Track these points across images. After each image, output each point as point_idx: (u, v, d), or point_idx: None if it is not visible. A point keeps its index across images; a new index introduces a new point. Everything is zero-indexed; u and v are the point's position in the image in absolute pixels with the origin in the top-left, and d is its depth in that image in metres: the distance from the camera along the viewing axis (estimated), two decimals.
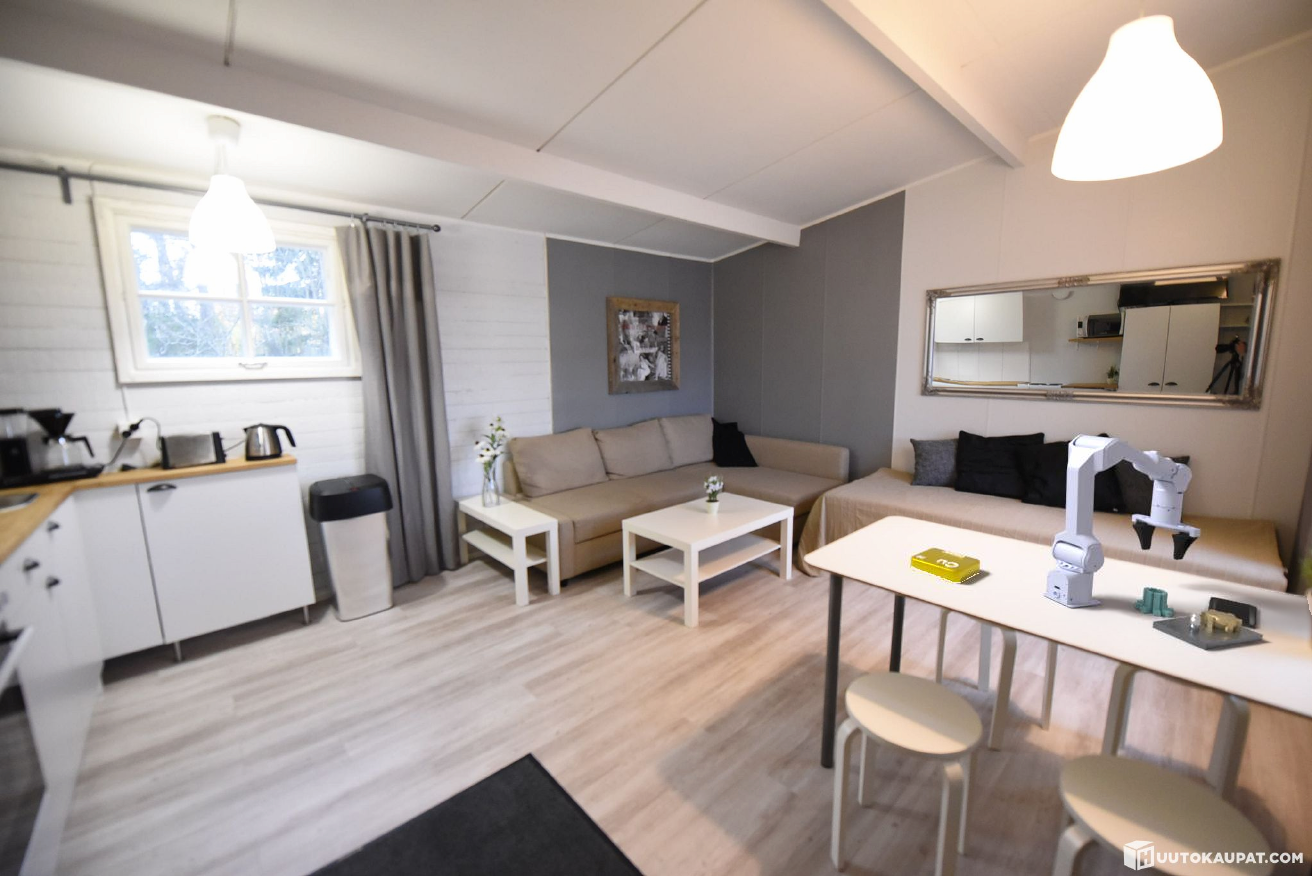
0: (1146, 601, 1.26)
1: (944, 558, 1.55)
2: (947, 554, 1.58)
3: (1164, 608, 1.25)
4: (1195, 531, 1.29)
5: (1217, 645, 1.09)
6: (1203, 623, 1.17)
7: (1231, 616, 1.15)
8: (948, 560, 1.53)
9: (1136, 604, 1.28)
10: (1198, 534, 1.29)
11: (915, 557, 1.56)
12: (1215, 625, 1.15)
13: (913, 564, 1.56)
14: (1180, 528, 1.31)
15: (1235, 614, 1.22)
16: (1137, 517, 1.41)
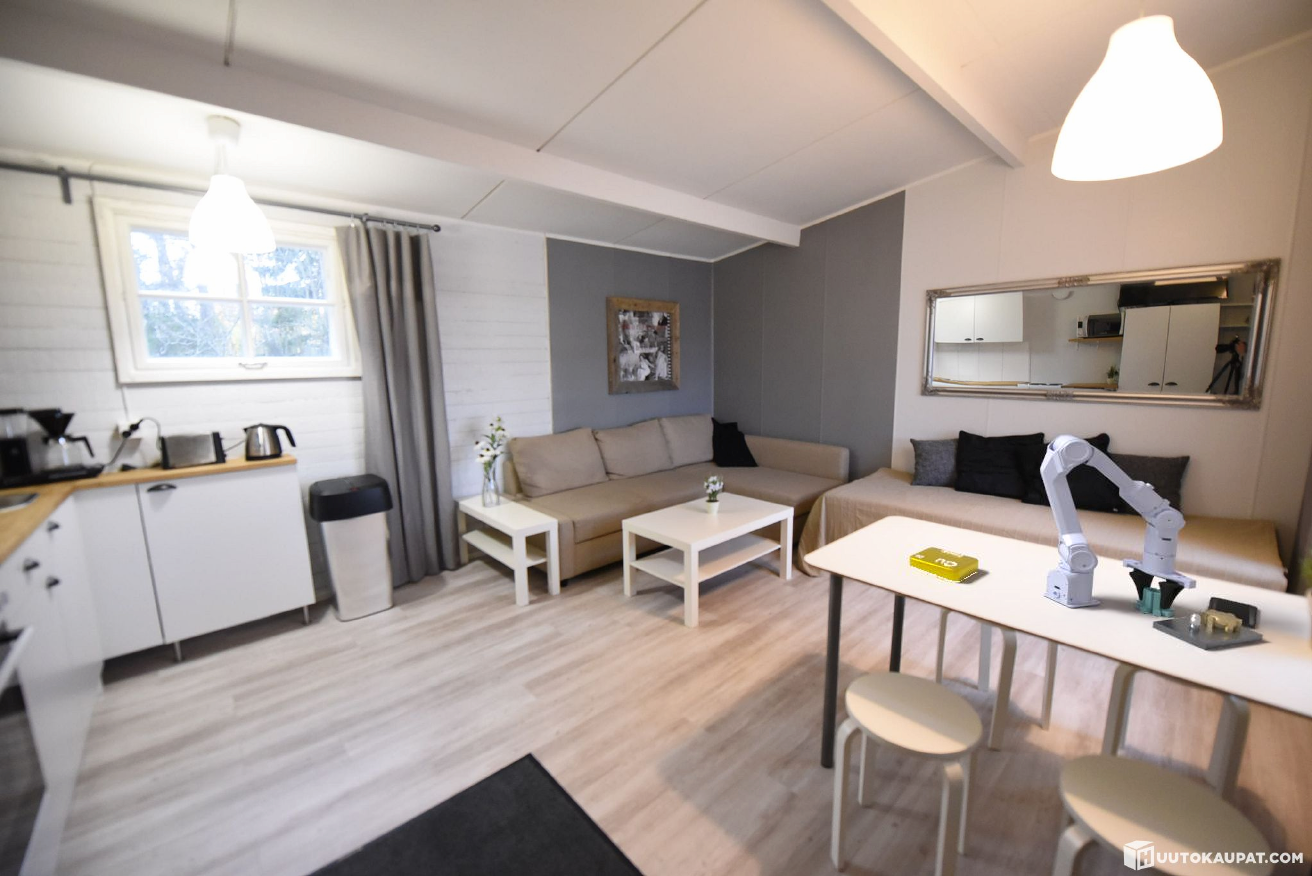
0: (1146, 601, 1.26)
1: (943, 557, 1.55)
2: (946, 553, 1.58)
3: None
4: (1190, 582, 1.18)
5: (1217, 645, 1.09)
6: (1203, 623, 1.17)
7: (1231, 616, 1.15)
8: (947, 559, 1.54)
9: (1136, 604, 1.28)
10: (1193, 585, 1.18)
11: (914, 556, 1.57)
12: (1215, 625, 1.15)
13: (912, 563, 1.56)
14: (1174, 578, 1.21)
15: (1235, 614, 1.22)
16: (1128, 562, 1.31)
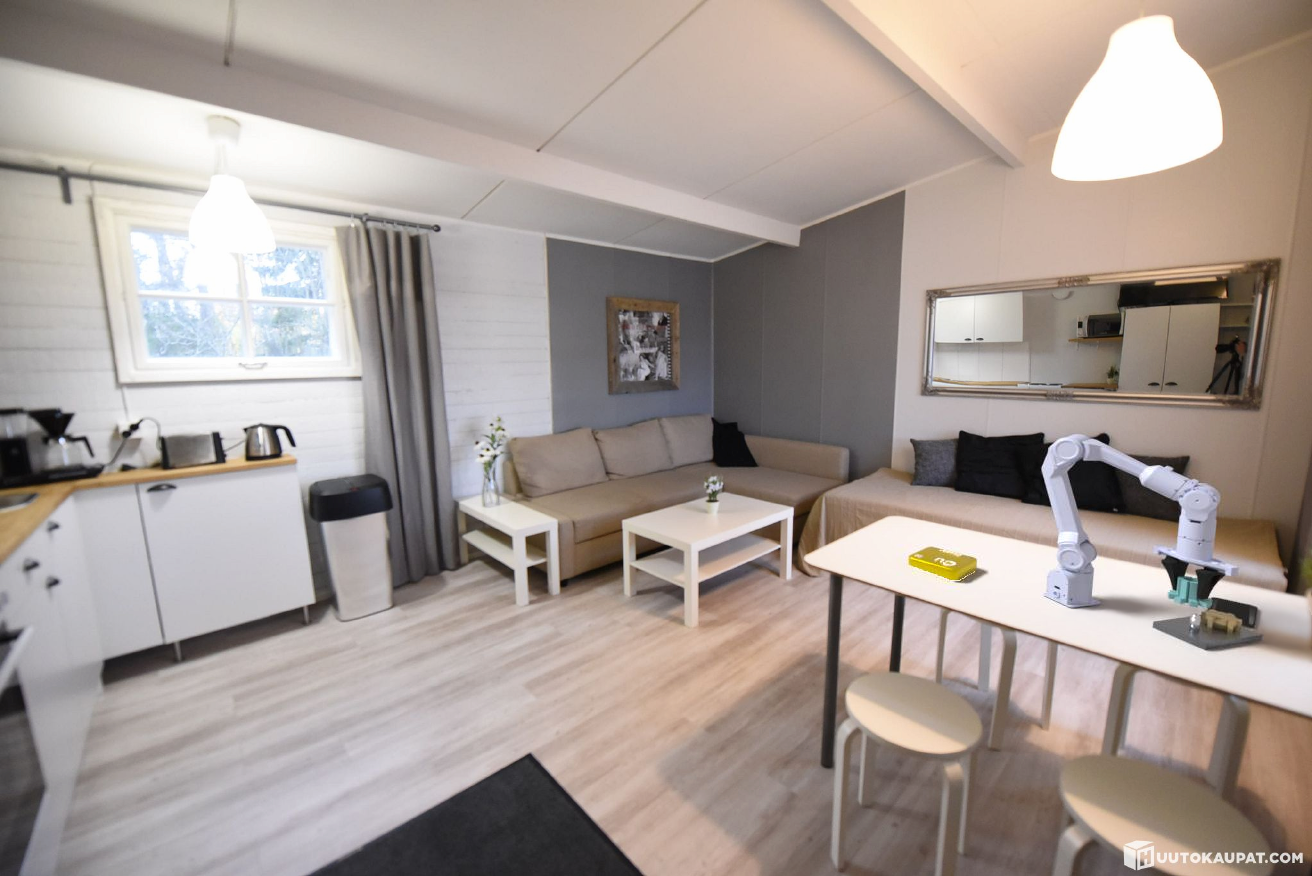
0: (1181, 591, 1.16)
1: (941, 557, 1.56)
2: (944, 553, 1.59)
3: None
4: (1232, 569, 1.07)
5: (1217, 645, 1.09)
6: (1203, 623, 1.17)
7: (1231, 616, 1.15)
8: (945, 559, 1.54)
9: (1170, 594, 1.17)
10: (1236, 573, 1.08)
11: (913, 556, 1.57)
12: (1215, 625, 1.15)
13: (911, 562, 1.57)
14: (1213, 565, 1.10)
15: (1235, 614, 1.22)
16: (1160, 549, 1.20)
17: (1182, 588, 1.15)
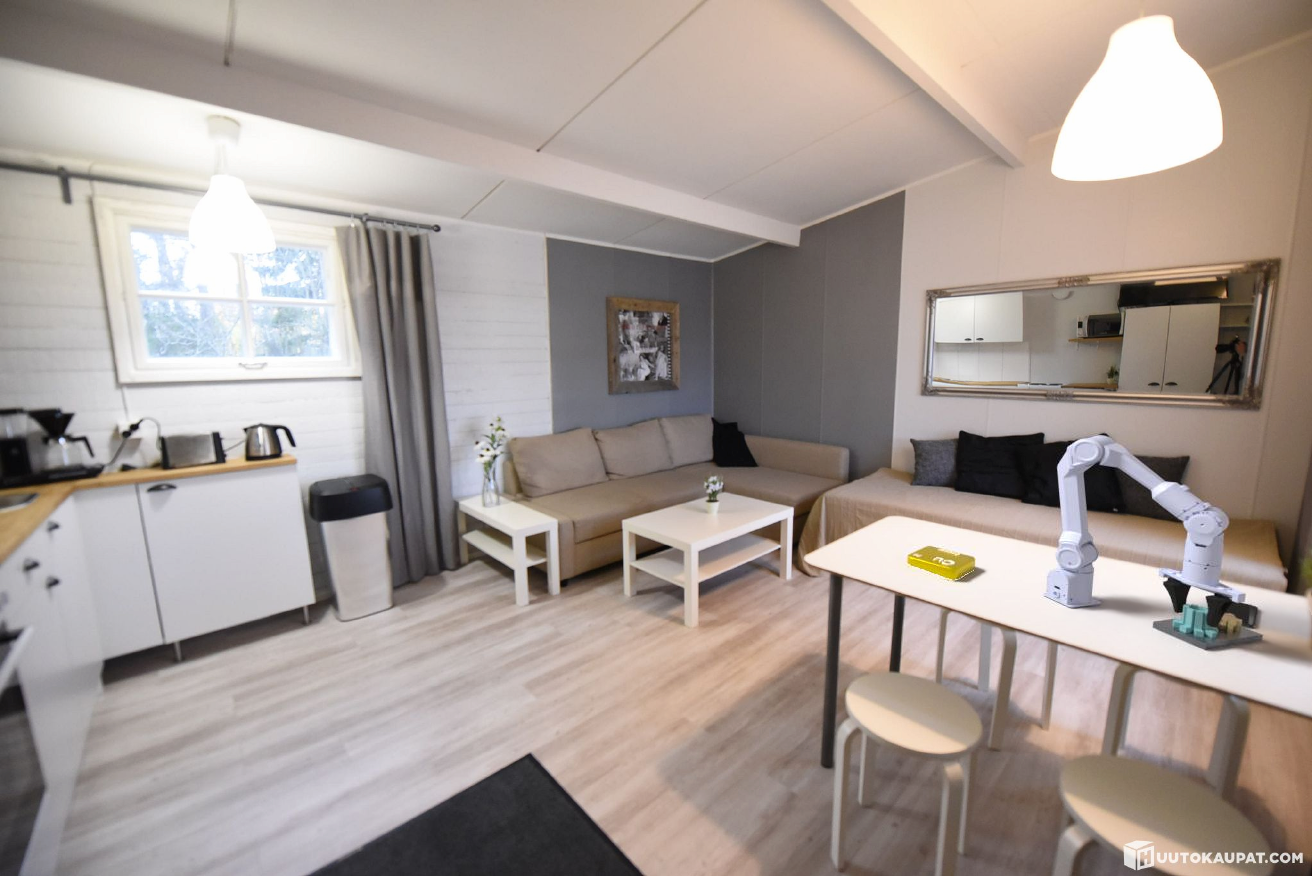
0: (1186, 620, 1.14)
1: (940, 556, 1.57)
2: (943, 552, 1.60)
3: (1207, 628, 1.12)
4: (1239, 596, 1.06)
5: (1217, 645, 1.09)
6: None
7: (1231, 616, 1.15)
8: (944, 558, 1.55)
9: (1175, 623, 1.16)
10: (1243, 599, 1.06)
11: (912, 555, 1.58)
12: None
13: (910, 562, 1.57)
14: (1220, 590, 1.08)
15: (1235, 614, 1.22)
16: (1165, 572, 1.18)
17: (1187, 617, 1.14)
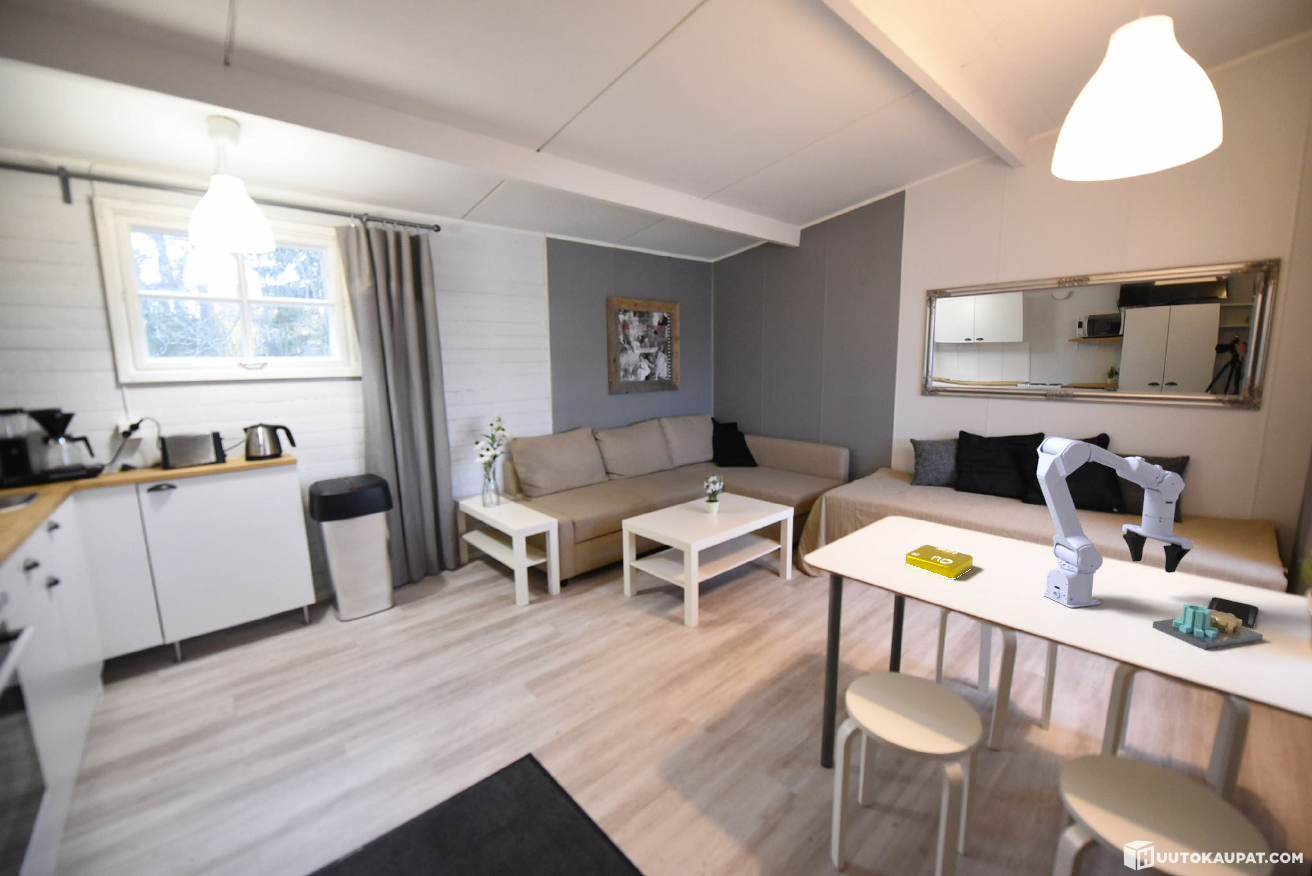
0: (1186, 620, 1.14)
1: (938, 555, 1.57)
2: (940, 551, 1.61)
3: (1207, 628, 1.12)
4: (1187, 543, 1.22)
5: (1217, 645, 1.09)
6: None
7: (1231, 616, 1.15)
8: (942, 557, 1.56)
9: (1175, 623, 1.16)
10: (1191, 546, 1.23)
11: (910, 554, 1.59)
12: (1215, 625, 1.15)
13: (908, 561, 1.58)
14: (1172, 539, 1.25)
15: (1234, 614, 1.22)
16: (1128, 527, 1.35)
17: (1187, 617, 1.14)
